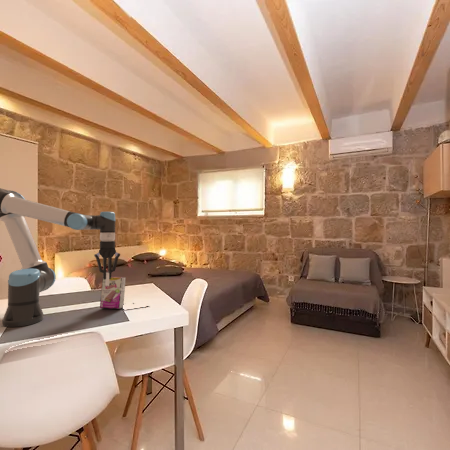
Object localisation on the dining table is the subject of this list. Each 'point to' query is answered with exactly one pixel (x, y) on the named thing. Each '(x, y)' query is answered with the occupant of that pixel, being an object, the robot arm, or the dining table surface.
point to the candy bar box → (113, 293)
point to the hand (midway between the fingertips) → (107, 285)
